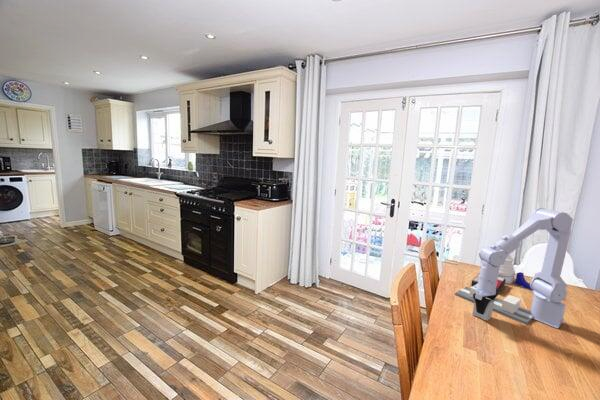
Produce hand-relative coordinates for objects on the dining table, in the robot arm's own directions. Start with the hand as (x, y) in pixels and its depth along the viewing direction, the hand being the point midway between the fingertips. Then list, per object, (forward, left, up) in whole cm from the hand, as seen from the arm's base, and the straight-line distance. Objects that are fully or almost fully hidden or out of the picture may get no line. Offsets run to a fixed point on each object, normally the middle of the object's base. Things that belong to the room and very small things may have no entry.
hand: (482, 311), depth 106 cm
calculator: (+10, -34, -3) cm, 36 cm away
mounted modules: (+1, -15, -1) cm, 15 cm away
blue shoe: (-4, -51, -3) cm, 51 cm away
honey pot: (+10, -50, -2) cm, 51 cm away
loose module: (0, 0, -2) cm, 2 cm away
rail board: (+1, -15, -2) cm, 15 cm away
